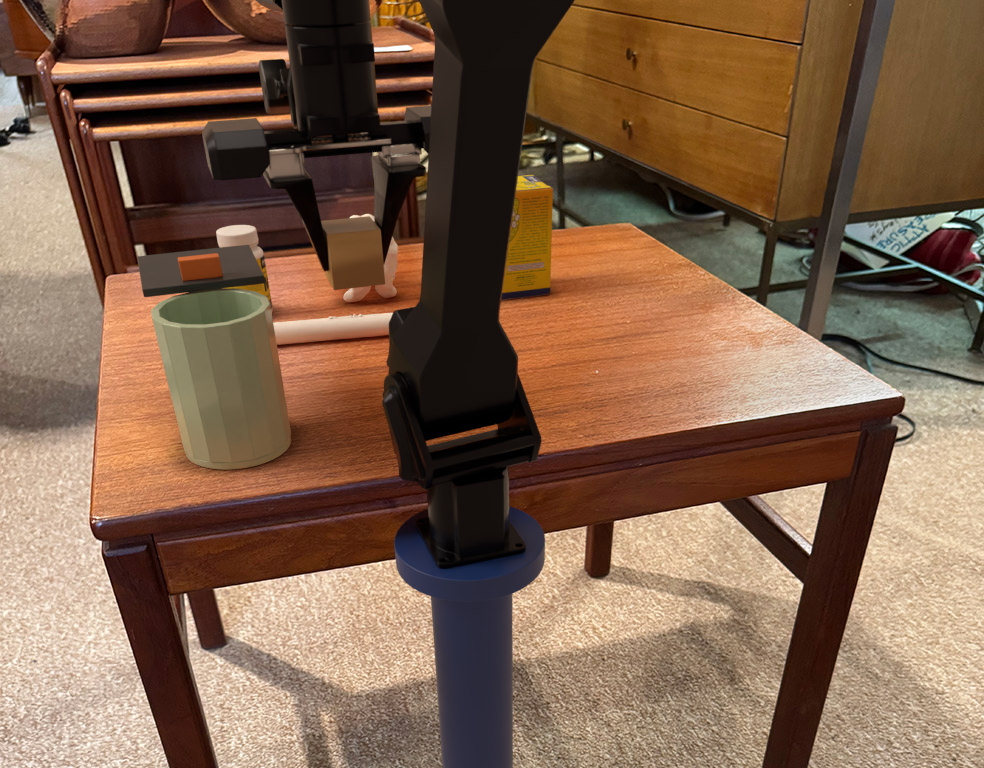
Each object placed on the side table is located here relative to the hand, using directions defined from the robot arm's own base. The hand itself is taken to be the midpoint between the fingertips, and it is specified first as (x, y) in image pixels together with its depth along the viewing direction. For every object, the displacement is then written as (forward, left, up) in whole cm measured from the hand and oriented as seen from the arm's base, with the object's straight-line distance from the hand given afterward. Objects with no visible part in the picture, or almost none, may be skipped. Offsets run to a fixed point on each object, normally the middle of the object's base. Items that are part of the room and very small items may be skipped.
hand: (353, 266), depth 72 cm
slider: (+6, +11, -1) cm, 13 cm away
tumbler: (-2, +11, -12) cm, 17 cm away
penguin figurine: (+32, -7, -12) cm, 35 cm away
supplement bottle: (+29, +6, -12) cm, 32 cm away
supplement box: (+26, -23, -12) cm, 36 cm away
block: (0, 0, -1) cm, 1 cm away
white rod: (+18, -3, -12) cm, 22 cm away
